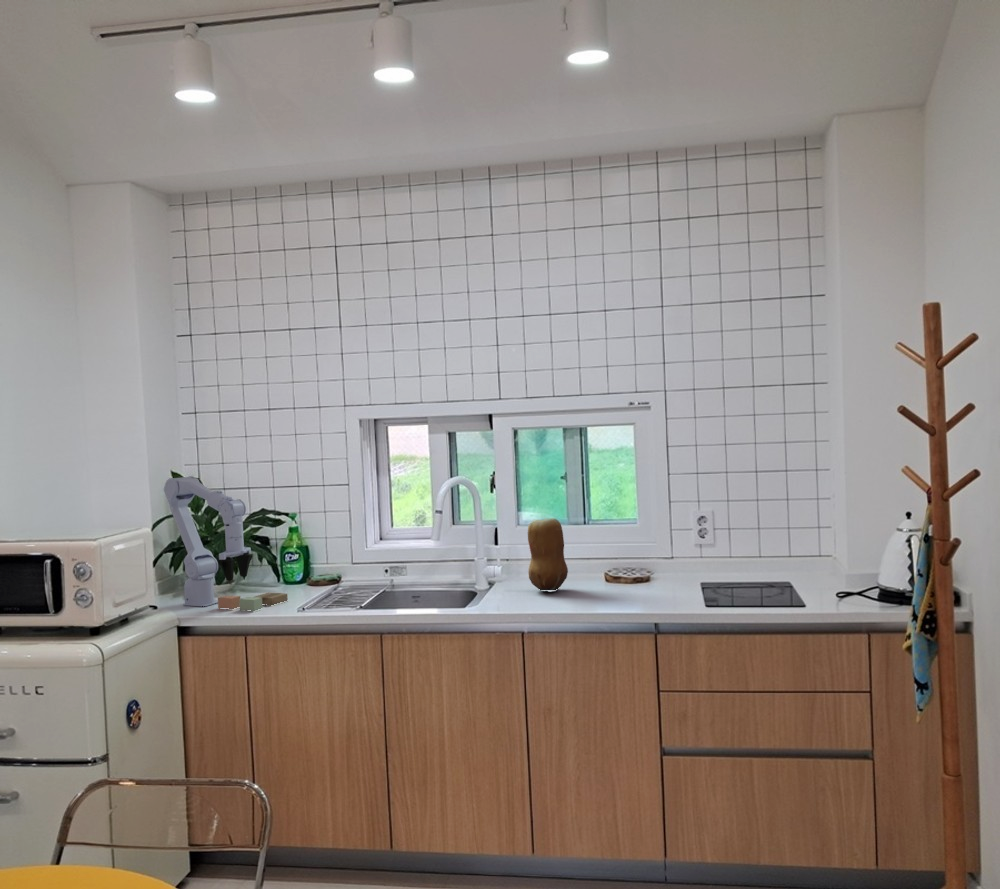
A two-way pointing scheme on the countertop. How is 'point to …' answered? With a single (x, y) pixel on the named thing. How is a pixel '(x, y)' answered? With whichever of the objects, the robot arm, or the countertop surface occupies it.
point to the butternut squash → (546, 554)
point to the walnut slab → (273, 598)
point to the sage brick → (250, 603)
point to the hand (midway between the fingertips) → (236, 578)
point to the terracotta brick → (228, 602)
